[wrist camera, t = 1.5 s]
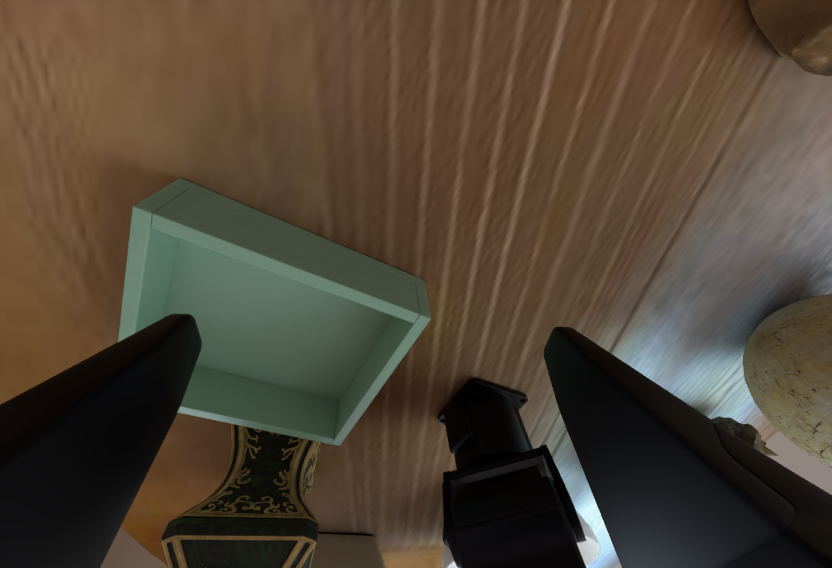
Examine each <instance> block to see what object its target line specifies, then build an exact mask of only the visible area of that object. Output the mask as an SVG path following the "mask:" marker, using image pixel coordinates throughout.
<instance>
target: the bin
mask: <svg viewBox="0 0 832 568" xmlns="http://www.w3.org/2000/svg"><path fill="white" fill-rule="evenodd" d="M170 314H190V315H192V316H193V317H194V318H195V321H196V324H197V327H198V330H199V333H200V336H201V340H202V348H201V351H200V354H199V357H198V360H197V362H196V365H195V368H194V371H193V373H192V376H191V379H190V381H189V384H188V387H187V390H186V392H185V395H184V398H183V400H182V403H181V405H180V408H179V410H178V413H183V414H188V415H192V416H197V417H202V418H207V419H212V420H216V421H221V422H226V423H231V424H236V425H240V426H245V427H250V428H255V429H260V430H264V431H269V432H274V433H279V434H284V435H288V436H293V437H298V438H303V439H308V440H312V441H317V442H322V443H327V444H332V445H337V446H340V445H341V444H342V442H343V441H344V440H345V438H346V437H347V435H348V434H349V433H350V431H351V430H352V428H353V427H354V426H355V424H356V423H357V421H358V420H359V419H360V417H361V416H362V414H363V413H364V412H365V410H366V409H367V407H368V406H369V405H370V403H371V402H372V401H373V399H374V398H375V396H376V395H377V394H378V392H379V391H380V389H381V388H382V387H383V385H384V384H385V382H386V381H387V380H388V378H389V377H390V375H391V374H392V373H393V371H394V370H395V368H396V367H397V366H398V364H399V363H400V361H401V360H402V359H403V357H404V356H405V354H406V353H407V352H408V350H409V349H410V348H411V346H412V345H413V343H414V342H415V341H416V339H417V338H418V336H419V335H420V334H421V332H422V331H423V329H424V328H425V327H426V325H427V324H428V322H429V321H430V320H431V316H430V310H429V305H428V300H427V294H426V289H425V284H424V280H423V279H420V278H418V277H416V276H413V275H411V274H408V273H406V272H404V271H401V270H399V269H397V268H394V267H392V266H389V265H387V264H385V263H382V262H380V261H377V260H375V259H373V258H370V257H368V256H365V255H363V254H361V253H358V252H356V251H354V250H351V249H349V248H346V247H344V246H342V245H339V244H337V243H334V242H332V241H330V240H327V239H325V238H323V237H320V236H318V235H315V234H313V233H311V232H308V231H306V230H303V229H301V228H299V227H296V226H294V225H292V224H289V223H287V222H284V221H282V220H280V219H277V218H275V217H272V216H270V215H268V214H265V213H263V212H260V211H258V210H256V209H253V208H251V207H249V206H246V205H244V204H241V203H239V202H237V201H234V200H232V199H229V198H227V197H225V196H222V195H220V194H218V193H215V192H213V191H210V190H208V189H206V188H203V187H201V186H198V185H196V184H194V183H191V182H189V181H186V180H184V179H182V178H179V179H177V180H175V181H174V182H173V183H170V184H169V185H167V186H165V187H164V188H162V189H160V190H159V191H157V192H155V193H154V194H152V195H150V196H149V197H147V198H145V199H144V200H142V201H140V202H139V203H137V204H135V205H134V206H133V207H132V216H131V225H130V234H129V243H128V253H127V262H126V271H125V280H124V289H123V298H122V307H121V317H120V326H119V335H118V342H119V341H121V340H123V339H125V338H127V337H129V336H131V335H132V334H134V333H136V332H138V331H140V330H142V329H144V328H146V327H147V326H149V325H151V324H153V323H155V322H157V321H159V320H161V319H162V318H164V317H166V316H168V315H170Z"/></svg>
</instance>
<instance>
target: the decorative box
mask: <svg viewBox="0 0 832 568" xmlns="http://www.w3.org/2000/svg"><path fill="white" fill-rule="evenodd" d="M231 440H232V449H231V457H230V462H229V465H228V469H227V471H226V474H225V476H224V478H223V480H222V481H221V483H220V485H219V486H218V487H217V489H216V490H215V491H214V492H213V493H212V494H211V495H210V496H209V497H208V498H207V499H206V500H204V501H202V502H201V503H199V504H197V505H196V506H194V507H192V508H191V509H189V510H187V511H186V512H184V513H182V514H181V515H179V516H177V517H176V518H174V519H173V520H171V521H170V522H169V523H168V525H167V528H166V530H165V532H164V534H163V536H162V538H161V540H162V541H161V542H162V546H163V549H164V553H165V556H166V559H167V563H168V566H169V568H310V567H311V563H312V559H313V555H314V551H315V547H316V542H317V537H318V529H319V523H318V522H317V520H316V519H315V517H314V516H313V514H312V513H311V511H310V510H309V508H308V507H307V505H306V504H305V500H306V499H307V497H308V495H309V493H310V492H311V490H312V488H313V485H314V480H315V474H316V469H317V464H318V458H319V453H320V448H321V443H322V442H317V441H312V440H308V439H303V438H298V437H293V436H288V435H284V434H279V433H274V432H269V431H264V430H260V429H255V428H250V427H245V426H240V425H236V424H231Z"/></svg>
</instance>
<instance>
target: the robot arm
mask: <svg viewBox="0 0 832 568" xmlns="http://www.w3.org/2000/svg"><path fill="white" fill-rule="evenodd" d="M201 348H202V340H201V336H200V333H199V330H198V327H197V324H196V321H195V318H194V317H193V316H192V315H190V314H170V315H168V316H166V317H164V318H162V319H161V320H159V321H157V322H155V323H153V324H151V325H149V326H147V327H146V328H144V329H142V330H140V331H138V332H136V333H134V334H132V335H131V336H129V337H127V338H125V339H123V340H121V341H119V342H117V343H116V344H114V345H112V346H110V347H108V348H106V349H104V350H103V351H101V352H99V353H97V354H95V355H93V356H91V357H89V358H88V359H86V360H84V361H82V362H80V363H78V364H76V365H74V366H72V367H71V368H69V369H67V370H65V371H63V372H61V373H59V374H57V375H56V376H54V377H52V378H50V379H48V380H46V381H44V382H42V383H41V384H39V385H37V386H35V387H33V388H31V389H29V390H27V391H26V392H24V393H22V394H20V395H18V396H16V397H14V398H12V399H11V400H9V401H7V402H5V403H3V404H1V405H0V568H100V566H101V564H102V562H103V560H104V558H105V556H106V554H107V552H108V550H109V548H110V546H111V544H112V542H113V540H114V538H115V536H116V534H117V532H118V530H119V528H120V526H121V524H122V522H123V520H124V518H125V516H126V515H127V513H128V511H129V509H130V507H131V505H132V503H133V501H134V499H135V497H136V495H137V493H138V491H139V489H140V487H141V485H142V483H143V481H144V479H145V477H146V475H147V473H148V471H149V469H150V467H151V465H152V463H153V461H154V459H155V457H156V455H157V453H158V451H159V449H160V447H161V445H162V443H163V441H164V439H165V437H166V435H167V433H168V431H169V429H170V427H171V425H172V423H173V421H174V419H175V417H176V414H177V412H178V410H179V408H180V405H181V403H182V400H183V398H184V395H185V392H186V390H187V387H188V384H189V381H190V379H191V376H192V373H193V371H194V368H195V365H196V362H197V360H198V357H199V354H200V351H201ZM544 359H545V362H546V366H547V369H548V373H549V376H550V380H551V383H552V387H553V390H554V394H555V397H556V401H557V404H558V407H559V410H560V413H561V415H562V418H563V421H564V423H565V426H566V428H567V431H568V433H569V436H570V438H571V441H572V443H573V446H574V448H575V451H576V453H577V456H578V458H579V461H580V463H581V466H582V468H583V471H584V473H585V476H586V478H587V481H588V483H589V486H590V488H591V491H592V493H593V496H594V498H595V501H596V503H597V506H598V508H599V511H600V513H601V516H602V518H603V521H604V523H605V526H606V528H607V531H608V533H609V536H610V538H611V541H612V543H613V546H614V548H615V551H616V553H617V556H618V558H619V561H620V563H621V566H622V568H832V495H830V494H829V493H827V492H825V491H824V490H822V489H820V488H819V487H817V486H815V485H814V484H812V483H810V482H809V481H807V480H805V479H804V478H802V477H800V476H799V475H797V474H796V473H794V472H792V471H790V470H789V469H787V468H786V467H784V466H782V465H781V464H779V463H777V462H776V461H774V460H773V459H771V458H769V457H768V456H766V455H764V454H763V453H761V452H760V451H758V450H757V449H755V448H754V447H752V446H750V445H749V444H747V443H746V442H744V441H743V440H741V439H740V438H738V437H736V436H735V435H733V434H732V433H730V432H729V431H727V430H726V429H724V428H723V427H721V426H720V425H718V424H717V423H715V422H712V421H711V420H710V419H709V418H708V417H706V416H705V415H703V414H702V413H700V412H698V411H697V410H695V409H694V408H692V407H691V406H689V405H688V404H686V403H685V402H683V401H682V400H680V399H679V398H677V397H676V396H674V395H673V394H671V393H670V392H668V391H667V390H665V389H664V388H662V387H661V386H659V385H658V384H656V383H655V382H653V381H652V380H650V379H649V378H647V377H645V376H644V375H642V374H641V373H639V372H638V371H636V370H635V369H633V368H632V367H630V366H629V365H627V364H626V363H624V362H623V361H621V360H620V359H618V358H617V357H615V356H614V355H612V354H611V353H609V352H608V351H606V350H605V349H603V348H602V347H600V346H599V345H597V344H596V343H594V342H593V341H591V340H589V339H588V338H586V337H585V336H583V335H582V334H580V333H579V332H577V331H576V330H574V329H573V328H571V327H555V328H554V329H553V331H552V333H551V335H550V337H549V339H548V342H547V344H546V346H545V348H544ZM527 401H528V399H527V397H526V395H525V394H522V393H519V392H516V391H513V390H510V389H507V388H504V387H501V386H498V385H494V384H491V383H488V382H485V381H482V380H479V379H471V380H470V381H469V382H468V383H467V384H466V385H465V386H464V387H463V389H462V390H461V391H460V392H459V393H458V394H457V395H456V396H455V397H454V399H453V400H452V401H451V402H450V403H449V404H448V405H447V406H446V407H445V409H444V410H443V411H442V412H441V413H440V414H439V415H438V417H437V419H438V422H439V423H440V424H444V425H446V431H447V436H448V442H449V448H450V451H451V453H453V454H454V456H455V462H456V467H457V470H455V471H451V472H450V471H447V472H443V481H444V483H442V488H443V511H444V526H443V542H444V544H445V545H446V546H447V547H448V548H449V549H450V551H451V554H452V556H453V559H454V562H455V564H456V566H457V568H586V566H585V563H584V561H583V558H582V555H581V553H580V550H579V548H578V545H577V543H579V542H584V541H586V538H585V534H584V531H583V528H582V526H581V523H580V520H579V518H578V515H577V513H576V510H575V508H574V505H573V503H572V500H571V498H570V496H569V493H568V491H567V489H566V487H565V484H564V482H563V480H562V478H561V476H560V474H559V471H558V469H557V467H556V465H555V463H554V461H553V458H552V456H551V454H550V452H549V450H548V448H547V445H542V446H540V447H539V448H536V449H533V448H532V445H531V443H530V440H529V438H528V435H527V432H526V430H525V427H524V425H523V422H522V419H521V417H520V414H519V412H518V410H519V409H520V408H521V407H522V406H523V405H524V404H525V403H526V402H527Z"/></svg>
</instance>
